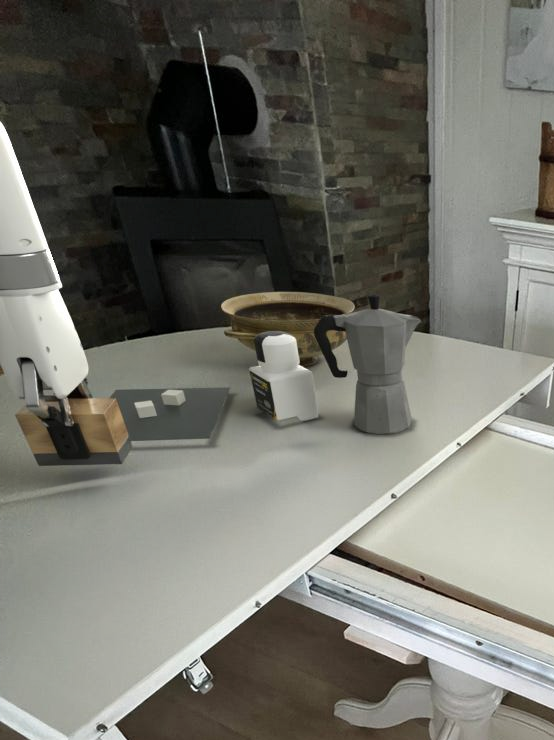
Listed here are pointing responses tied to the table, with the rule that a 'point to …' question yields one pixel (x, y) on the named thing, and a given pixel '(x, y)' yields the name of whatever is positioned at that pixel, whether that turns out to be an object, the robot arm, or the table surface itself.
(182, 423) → the slate board
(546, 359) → the table surface
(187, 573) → the table surface
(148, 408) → the chalk lump
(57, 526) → the table surface
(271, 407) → the medicine bottle
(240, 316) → the ceramic bowl
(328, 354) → the coffeepot
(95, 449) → the eraser
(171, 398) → the chalk lump
